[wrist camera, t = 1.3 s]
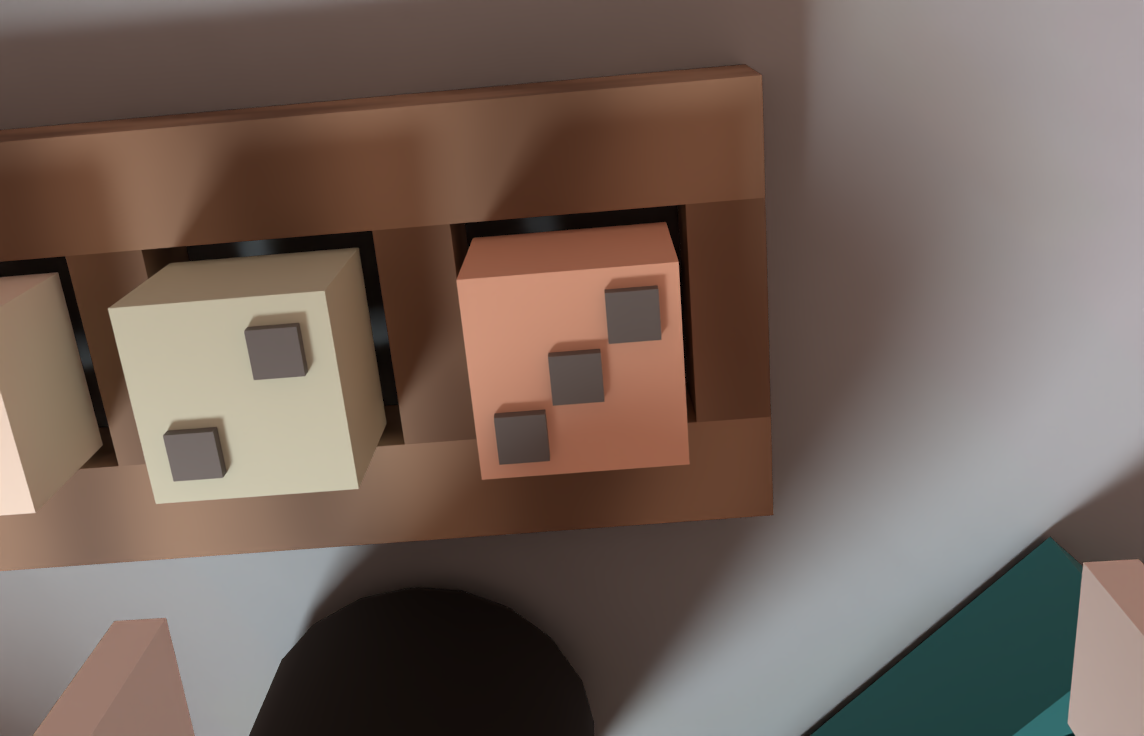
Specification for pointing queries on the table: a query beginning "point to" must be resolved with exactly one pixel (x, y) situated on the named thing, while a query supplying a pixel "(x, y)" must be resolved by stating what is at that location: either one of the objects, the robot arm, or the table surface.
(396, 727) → the coffee jar
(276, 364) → the die
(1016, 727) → the teal l-shaped bracket
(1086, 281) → the table surface
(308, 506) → the wooden dice tray
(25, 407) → the die
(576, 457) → the die
